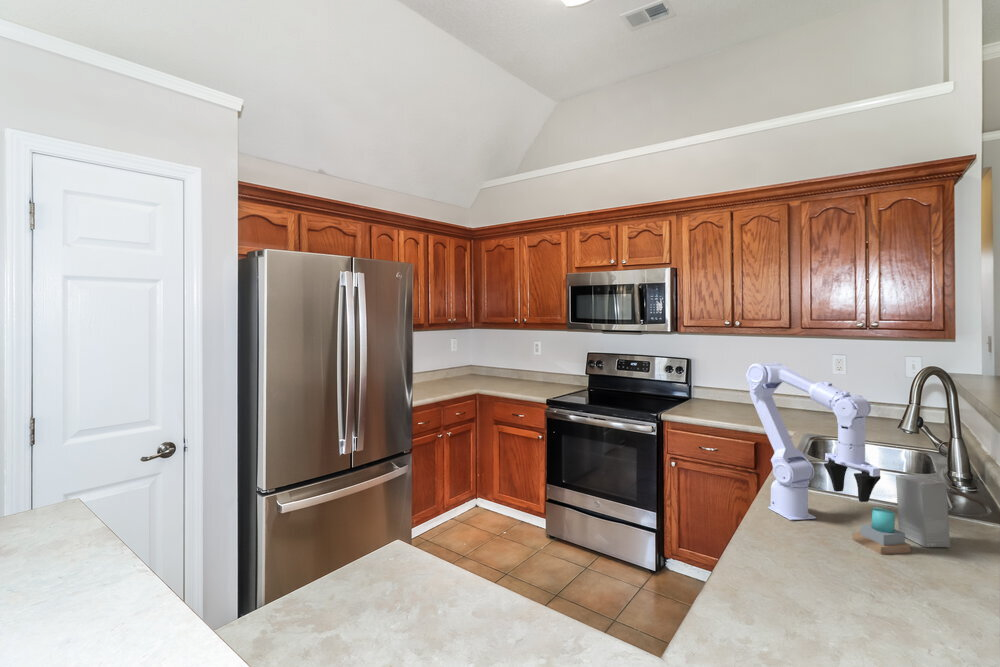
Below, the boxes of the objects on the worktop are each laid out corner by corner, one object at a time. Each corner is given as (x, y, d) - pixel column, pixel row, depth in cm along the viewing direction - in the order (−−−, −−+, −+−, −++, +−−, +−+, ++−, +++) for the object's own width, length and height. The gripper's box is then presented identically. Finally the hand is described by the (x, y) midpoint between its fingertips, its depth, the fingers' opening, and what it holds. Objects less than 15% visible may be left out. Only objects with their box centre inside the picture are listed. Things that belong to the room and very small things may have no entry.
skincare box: (950, 548, 120) (952, 483, 119) (920, 548, 120) (922, 483, 119) (921, 533, 128) (922, 473, 128) (893, 533, 128) (894, 472, 128)
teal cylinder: (867, 525, 123) (867, 507, 123) (882, 525, 123) (883, 507, 123) (882, 533, 118) (883, 514, 118) (899, 532, 119) (899, 513, 119)
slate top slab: (861, 535, 123) (861, 525, 123) (881, 533, 124) (881, 523, 124) (883, 545, 118) (883, 535, 117) (904, 543, 119) (904, 533, 118)
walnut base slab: (852, 542, 125) (852, 532, 125) (880, 540, 126) (880, 530, 126) (880, 557, 117) (881, 547, 117) (910, 555, 118) (910, 544, 118)
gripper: (815, 437, 133) (814, 487, 133) (862, 451, 118) (861, 507, 119) (838, 436, 134) (837, 486, 134) (888, 450, 119) (887, 505, 120)
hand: (850, 496), depth 126 cm, fingers open, 7 cm apart
